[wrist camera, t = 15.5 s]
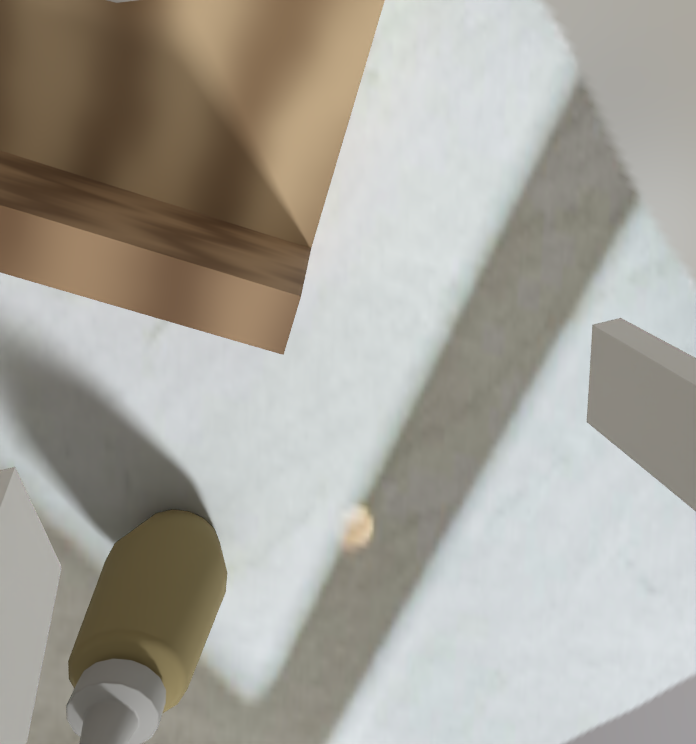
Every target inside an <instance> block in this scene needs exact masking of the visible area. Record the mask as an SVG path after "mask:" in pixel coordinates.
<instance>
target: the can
mask: <svg viewBox="0 0 696 744" xmlns="http://www.w3.org/2000/svg"><path fill="white" fill-rule="evenodd" d="M107 1H111V2H115V3H120V2H128V1H137V0H107Z"/></svg>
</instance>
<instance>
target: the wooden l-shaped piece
mask: <svg viewBox="0 0 696 744" xmlns="http://www.w3.org/2000/svg"><path fill="white" fill-rule="evenodd" d="M384 1H385V0H137V1H128V2H120V3H115V2H111V1H107V0H0V272H1V273H4V274H8V275H11V276H15V277H18V278H22V279H25V280H29V281H32V282H35V283H39V284H42V285H46V286H49V287H53V288H56V289H59V290H63V291H66V292H70V293H73V294H77V295H80V296H83V297H87V298H90V299H94V300H97V301H101V302H104V303H107V304H111V305H114V306H118V307H121V308H125V309H128V310H132V311H135V312H138V313H142V314H145V315H149V316H152V317H156V318H159V319H162V320H166V321H169V322H173V323H176V324H180V325H183V326H186V327H190V328H193V329H197V330H200V331H204V332H207V333H211V334H214V335H217V336H221V337H224V338H228V339H231V340H235V341H238V342H241V343H245V344H248V345H252V346H255V347H259V348H262V349H265V350H269V351H272V352H276V353H279V354H284V351H285V348H286V344H287V341H288V338H289V334H290V331H291V328H292V324H293V321H294V318H295V314H296V311H297V308H298V304H299V301H300V297H301V293H302V289H303V284H304V279H305V274H306V270H307V265H308V260H309V256H310V251H311V247H312V243H313V240H314V237H315V233H316V230H317V227H318V223H319V220H320V216H321V213H322V210H323V206H324V203H325V200H326V196H327V193H328V189H329V186H330V183H331V179H332V176H333V173H334V169H335V166H336V162H337V159H338V156H339V152H340V149H341V146H342V142H343V139H344V135H345V132H346V129H347V125H348V122H349V119H350V115H351V112H352V109H353V105H354V102H355V98H356V95H357V92H358V88H359V85H360V82H361V78H362V75H363V71H364V68H365V65H366V61H367V58H368V55H369V51H370V48H371V44H372V41H373V38H374V34H375V31H376V28H377V24H378V21H379V17H380V14H381V11H382V7H383V4H384Z"/></svg>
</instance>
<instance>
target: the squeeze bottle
mask: <svg viewBox="0 0 696 744" xmlns="http://www.w3.org/2000/svg"><path fill="white" fill-rule="evenodd" d="M226 581H227V570H226V566H225V562H224V558H223V554H222V550H221V546H220V542H219V539H218V537H217V534H216V532H215V529H214V528H213V527H212V526H211V525H210V524H209V523H208V522H207V521H206V520H205V519H204V518H202V517H200V516H198V515H196V514H193V513H191V512H189V511H182V510H168V511H164V512H159V513H156V514H155V515H153V516H152V517H150V518H149V519H148V520H146V521H145V522H143V523H142V524H141V525H139V526H138V527H137V528H135V529H134V530H132V531H131V532H130V533H128V534H127V535H126V536H124V537H123V538H121V539H120V540H119V541H117V542H116V543H115V544H114V546H113V548H112V550H111V551H110V553H109V555H108V557H107V559H106V561H105V563H104V566H103V569H102V572H101V574H100V577H99V580H98V582H97V585H96V588H95V590H94V593H93V596H92V599H91V601H90V604H89V607H88V609H87V612H86V615H85V617H84V620H83V623H82V626H81V628H80V631H79V634H78V636H77V639H76V642H75V644H74V647H73V650H72V653H71V655H70V658H69V661H68V665H69V680H70V682H71V683H72V685H73V687H74V691H73V693H72V695H71V697H70V699H69V701H68V703H67V705H66V709H67V720H68V722H69V724H70V725H71V727H72V729H73V731H74V732H75V733H76V734H77V735H78V736H80V743H79V744H142V743H144V742H145V741H147V740H148V739H150V738H151V737H152V736H153V734H154V733H155V731H156V730H157V728H158V726H159V723H160V720H161V716H162V713H164V712H165V711H167V710H169V709H170V708H172V707H173V706H175V705H177V704H178V703H179V701H180V699H181V698H182V696H183V695H184V693H185V692H186V690H187V688H188V686H189V683H190V681H191V678H192V676H193V673H194V671H195V668H196V666H197V663H198V661H199V658H200V655H201V653H202V650H203V648H204V645H205V643H206V640H207V638H208V635H209V633H210V630H211V628H212V625H213V623H214V620H215V617H216V615H217V612H218V610H219V607H220V605H221V602H222V600H223V597H224V595H225V592H226Z"/></svg>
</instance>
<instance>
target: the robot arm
mask: <svg viewBox="0 0 696 744" xmlns="http://www.w3.org/2000/svg"><path fill="white" fill-rule="evenodd" d="M587 423H589V424H590V425H591V426H592V427H594V428H595V429H596V430H597V431H598V432H600V433H601V434H602V435H603V436H605V437H606V438H607V439H608V440H609V441H611V442H612V443H613V444H614V445H616V446H617V447H618V448H619V449H620V450H622V451H623V452H624V453H625V454H627V455H628V456H629V457H630V458H631V459H633V460H634V461H635V462H636V463H637V464H639V465H640V466H641V467H642V468H644V469H645V470H646V471H647V472H648V473H650V474H651V475H652V476H653V477H655V478H656V479H657V480H658V481H659V482H661V483H662V484H663V485H664V486H666V487H667V488H668V489H669V490H670V491H672V492H673V493H674V494H675V495H677V496H678V497H679V498H680V499H681V500H683V501H684V502H685V503H686V504H687V505H689V506H690V507H691V508H692V509H694V510H695V511H696V358H695V357H693V356H691V355H689V354H687V353H685V352H683V351H682V350H680V349H678V348H676V347H674V346H672V345H670V344H669V343H667V342H665V341H663V340H661V339H659V338H657V337H655V336H654V335H652V334H650V333H648V332H646V331H644V330H642V329H640V328H639V327H637V326H635V325H633V324H631V323H629V322H627V321H625V320H624V319H622V318H619V319H615V320H611V321H606V322H602V323H598V324H594V325H593V327H592V343H591V360H590V376H589V393H588V409H587ZM61 568H62V567H61V565H60V562H59V560H58V558H57V556H56V554H55V552H54V550H53V547H52V545H51V543H50V541H49V539H48V537H47V534H46V532H45V530H44V528H43V526H42V524H41V521H40V519H39V517H38V515H37V513H36V511H35V508H34V506H33V504H32V502H31V500H30V498H29V496H28V493H27V491H26V489H25V487H24V485H23V483H22V480H21V478H20V476H19V474H18V472H17V470H16V467H12V468H8V469H4V470H0V744H27V739H28V734H29V729H30V723H31V718H32V713H33V708H34V703H35V698H36V693H37V688H38V683H39V678H40V673H41V668H42V663H43V658H44V653H45V648H46V643H47V638H48V633H49V628H50V623H51V618H52V613H53V608H54V603H55V598H56V593H57V588H58V583H59V578H60V573H61Z"/></svg>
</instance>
